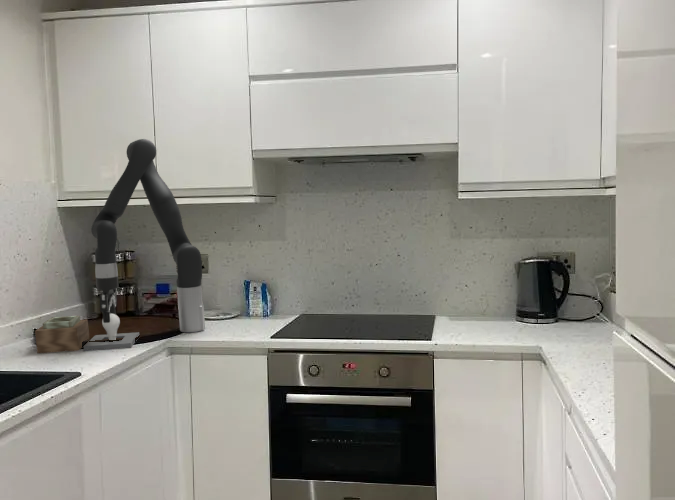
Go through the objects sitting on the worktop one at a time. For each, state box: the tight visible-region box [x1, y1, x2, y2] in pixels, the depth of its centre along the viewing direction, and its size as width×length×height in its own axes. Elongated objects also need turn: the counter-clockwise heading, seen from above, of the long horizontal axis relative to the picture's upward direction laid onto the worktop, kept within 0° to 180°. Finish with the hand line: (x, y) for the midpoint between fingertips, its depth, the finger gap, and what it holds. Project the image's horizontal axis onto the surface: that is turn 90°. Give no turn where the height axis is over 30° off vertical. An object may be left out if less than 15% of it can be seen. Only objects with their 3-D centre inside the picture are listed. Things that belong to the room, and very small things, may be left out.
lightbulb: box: [101, 314, 121, 340], centre depth 236 cm, size 6×6×11 cm
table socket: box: [83, 331, 140, 352], centre depth 236 cm, size 16×16×2 cm
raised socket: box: [34, 315, 90, 354], centre depth 234 cm, size 14×14×10 cm
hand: (109, 320), depth 235 cm, fingers open, 8 cm apart
